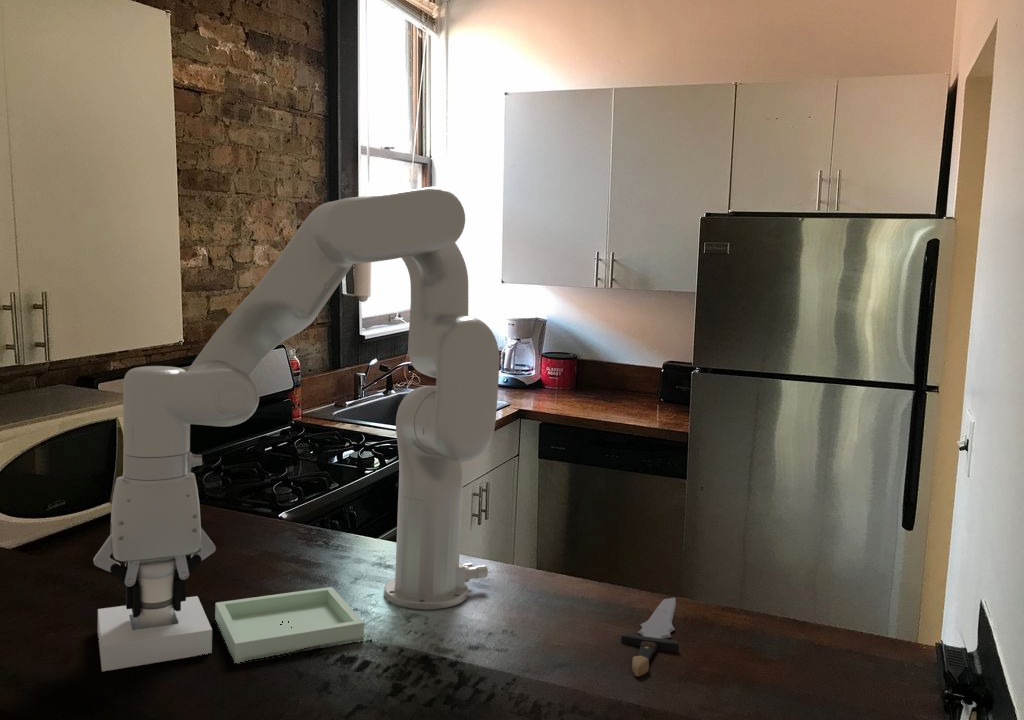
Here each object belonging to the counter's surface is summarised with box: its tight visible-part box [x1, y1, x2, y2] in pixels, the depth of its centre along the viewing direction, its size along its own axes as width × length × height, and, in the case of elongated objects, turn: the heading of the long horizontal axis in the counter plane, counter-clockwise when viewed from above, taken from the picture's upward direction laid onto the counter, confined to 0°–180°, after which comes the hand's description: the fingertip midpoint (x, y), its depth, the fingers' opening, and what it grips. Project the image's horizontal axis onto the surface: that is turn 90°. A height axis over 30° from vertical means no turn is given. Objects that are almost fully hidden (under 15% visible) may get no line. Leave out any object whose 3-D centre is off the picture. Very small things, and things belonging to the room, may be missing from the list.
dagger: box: [620, 597, 680, 677], centre depth 112 cm, size 8×32×2 cm, turn 169°
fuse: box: [137, 557, 176, 629], centre depth 100 cm, size 4×4×10 cm
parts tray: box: [214, 586, 365, 664], centre depth 106 cm, size 16×14×2 cm
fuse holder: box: [97, 595, 213, 672], centre depth 100 cm, size 12×12×3 cm
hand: (156, 608), depth 100 cm, fingers closed on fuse, 4 cm apart
